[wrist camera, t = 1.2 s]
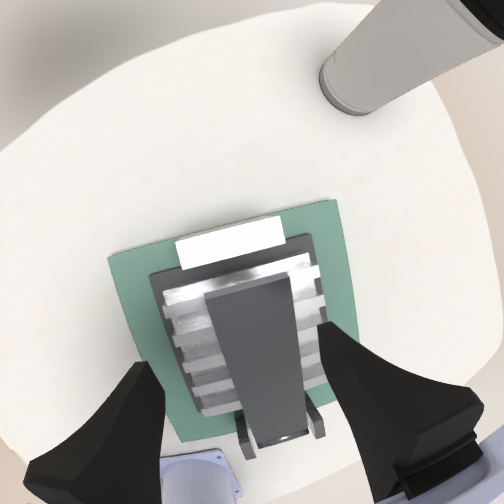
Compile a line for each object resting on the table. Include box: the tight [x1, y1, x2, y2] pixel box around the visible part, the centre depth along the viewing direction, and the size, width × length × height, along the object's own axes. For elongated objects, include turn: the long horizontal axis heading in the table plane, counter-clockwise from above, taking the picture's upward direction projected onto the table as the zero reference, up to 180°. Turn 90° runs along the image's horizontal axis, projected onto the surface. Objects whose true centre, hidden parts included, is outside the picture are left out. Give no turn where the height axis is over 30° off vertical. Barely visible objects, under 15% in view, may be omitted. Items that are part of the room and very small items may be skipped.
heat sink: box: [162, 216, 328, 460], centre depth 20 cm, size 17×10×5 cm, turn 14°
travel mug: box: [320, 0, 504, 116], centre depth 13 cm, size 6×7×20 cm
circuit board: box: [107, 199, 360, 442], centre depth 23 cm, size 18×18×2 cm
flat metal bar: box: [204, 271, 309, 449], centre depth 17 cm, size 14×4×1 cm, turn 14°
